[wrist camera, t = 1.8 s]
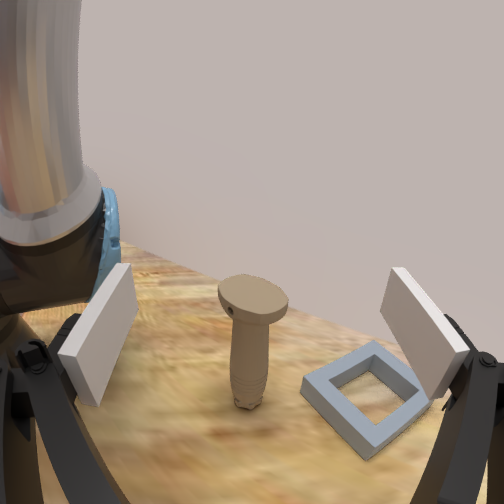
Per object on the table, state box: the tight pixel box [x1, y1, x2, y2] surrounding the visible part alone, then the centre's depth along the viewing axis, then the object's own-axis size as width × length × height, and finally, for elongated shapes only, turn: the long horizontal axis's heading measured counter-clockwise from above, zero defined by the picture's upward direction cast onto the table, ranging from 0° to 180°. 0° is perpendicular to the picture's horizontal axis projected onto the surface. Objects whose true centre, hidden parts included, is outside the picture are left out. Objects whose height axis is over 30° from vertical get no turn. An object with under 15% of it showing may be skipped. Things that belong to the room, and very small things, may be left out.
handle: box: [218, 274, 289, 410], centre depth 30 cm, size 5×6×15 cm
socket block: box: [300, 340, 435, 461], centre depth 32 cm, size 12×12×3 cm
